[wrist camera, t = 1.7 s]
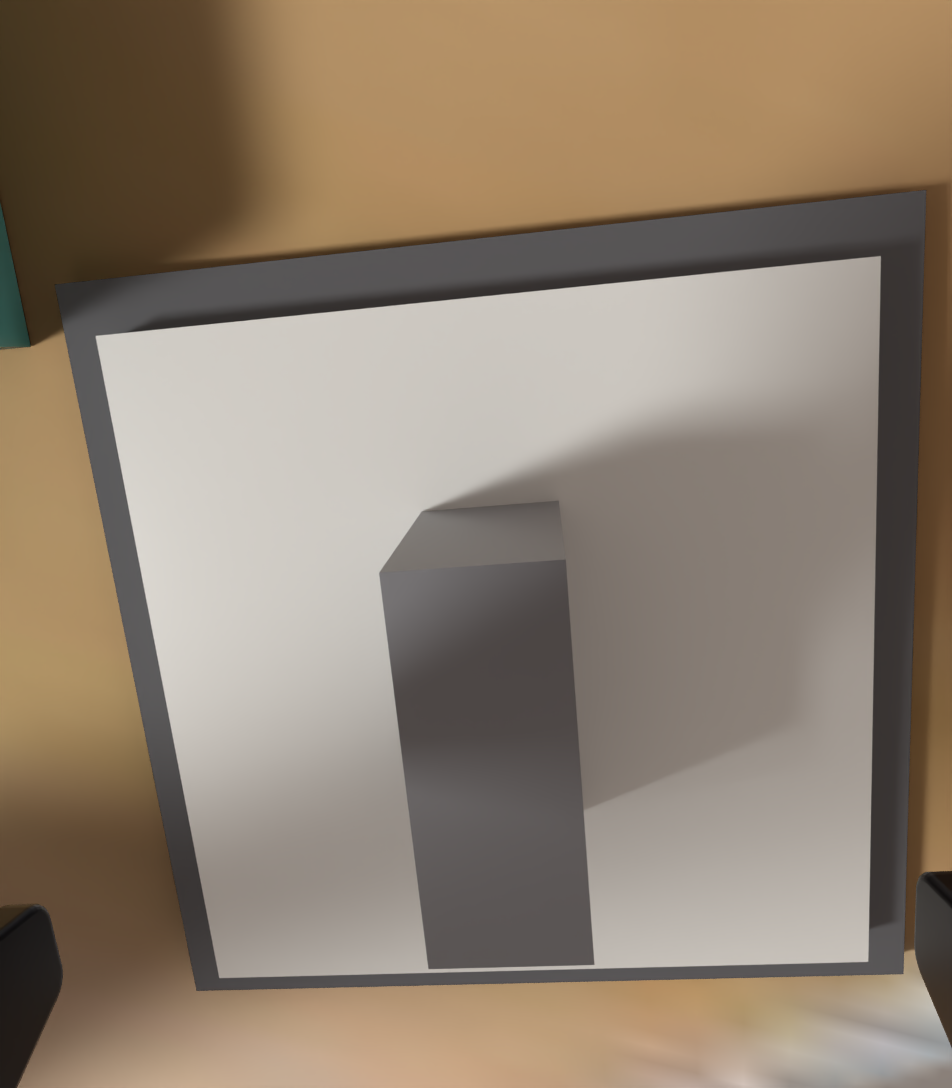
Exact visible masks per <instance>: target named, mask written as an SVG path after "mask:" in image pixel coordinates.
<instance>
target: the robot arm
mask: <svg viewBox="0 0 952 1088" xmlns="http://www.w3.org/2000/svg"><path fill="white" fill-rule="evenodd" d="M914 944H915V955H916V960H917V964H918V967H919V970H920V973H921V975H922V978H923V980H924V983H925V985H926V987H927V990H928V992H929V995H930V997H931V999H932V1002H933V1004H934V1006H935V1009H936V1011H937V1014H938V1016H939V1018H940V1021H941V1023H942V1025H943V1028H944V1030H945V1033H946V1035H947V1037H948V1040H949V1042H950V1045H951V1047H952V871H940V872H925V873H923V874H922V875H921V876H920V877H919V879H918V882H917V886H916V910H915V941H914ZM62 978H63V970H62V964H61V960H60V956H59V952H58V947H57V943H56V939H55V935H54V931H53V927H52V923H51V918H50V915H49V913H48V911H47V910H46V909H45V908H44V907H43V906H41V905H39V904H27V905H7V906H3V907H0V1088H17V1086H18V1084H19V1082H20V1080H21V1078H22V1075H23V1073H24V1071H25V1069H26V1067H27V1064H28V1062H29V1060H30V1058H31V1055H32V1053H33V1051H34V1049H35V1047H36V1044H37V1042H38V1040H39V1038H40V1036H41V1033H42V1031H43V1029H44V1027H45V1025H46V1022H47V1020H48V1018H49V1016H50V1013H51V1011H52V1009H53V1007H54V1005H55V1002H56V1000H57V998H58V995H59V993H60V989H61V985H62Z"/></svg>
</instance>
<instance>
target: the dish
mask: <svg viewBox="0 0 952 1088" xmlns="http://www.w3.org/2000/svg"><path fill="white" fill-rule="evenodd" d="M22 347H31V346H30V341H29V336H28V331H27V327H26V322H25V317H24V312H23V308H22V303H21V298H20V293H19V289H18V284H17V279H16V274H15V270H14V265H13V260H12V255H11V251H10V246H9V241H8V236H7V232H6V227H5V222H4V218H3V213H2V208H1V203H0V350H3V349H12V348H22Z"/></svg>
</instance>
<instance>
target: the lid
mask: <svg viewBox="0 0 952 1088" xmlns="http://www.w3.org/2000/svg"><path fill="white" fill-rule="evenodd" d="M880 276H881V256H876V257H866V258H856V259H847V260H837V261H827V262H817V263H807V264H798V265H788V266H778V267H768V268H758V269H748V270H739V271H729V272H719V273H709V274H699V275H689V276H680V277H670V278H660V279H650V280H640V281H631V282H621V283H611V284H601V285H591V286H581V287H572V288H562V289H552V290H542V291H532V292H522V293H513V294H503V295H493V296H483V297H473V298H464V299H454V300H444V301H434V302H424V303H414V304H405V305H395V306H385V307H375V308H365V309H355V310H346V311H336V312H326V313H316V314H306V315H297V316H287V317H277V318H267V319H257V320H247V321H238V322H228V323H218V324H208V325H198V326H188V327H179V328H169V329H159V330H149V331H139V332H130V333H120V334H110V335H100V336H96V341H97V346H98V352H99V357H100V362H101V367H102V372H103V378H104V383H105V388H106V393H107V398H108V403H109V409H110V414H111V419H112V424H113V429H114V435H115V440H116V445H117V450H118V455H119V460H120V466H121V471H122V476H123V481H124V486H125V492H126V497H127V502H128V507H129V512H130V517H131V523H132V528H133V533H134V538H135V543H136V549H137V554H138V559H139V564H140V569H141V574H142V580H143V585H144V590H145V595H146V600H147V606H148V611H149V616H150V621H151V626H152V632H153V637H154V642H155V647H156V652H157V657H158V663H159V668H160V673H161V678H162V683H163V689H164V694H165V699H166V704H167V709H168V714H169V720H170V725H171V730H172V735H173V740H174V746H175V751H176V756H177V761H178V766H179V771H180V777H181V782H182V787H183V792H184V797H185V803H186V808H187V813H188V818H189V823H190V828H191V834H192V839H193V844H194V849H195V854H196V860H197V865H198V870H199V875H200V880H201V886H202V891H203V896H204V901H205V906H206V911H207V917H208V922H209V927H210V932H211V937H212V943H213V948H214V953H215V958H216V963H217V968H218V974H219V978H245V977H285V976H325V975H364V974H404V973H444V972H484V971H524V970H564V969H604V968H644V967H684V966H724V965H764V964H803V963H843V962H868V952H869V896H870V840H871V783H872V727H873V671H874V614H875V558H876V502H877V445H878V389H879V332H880Z"/></svg>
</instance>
